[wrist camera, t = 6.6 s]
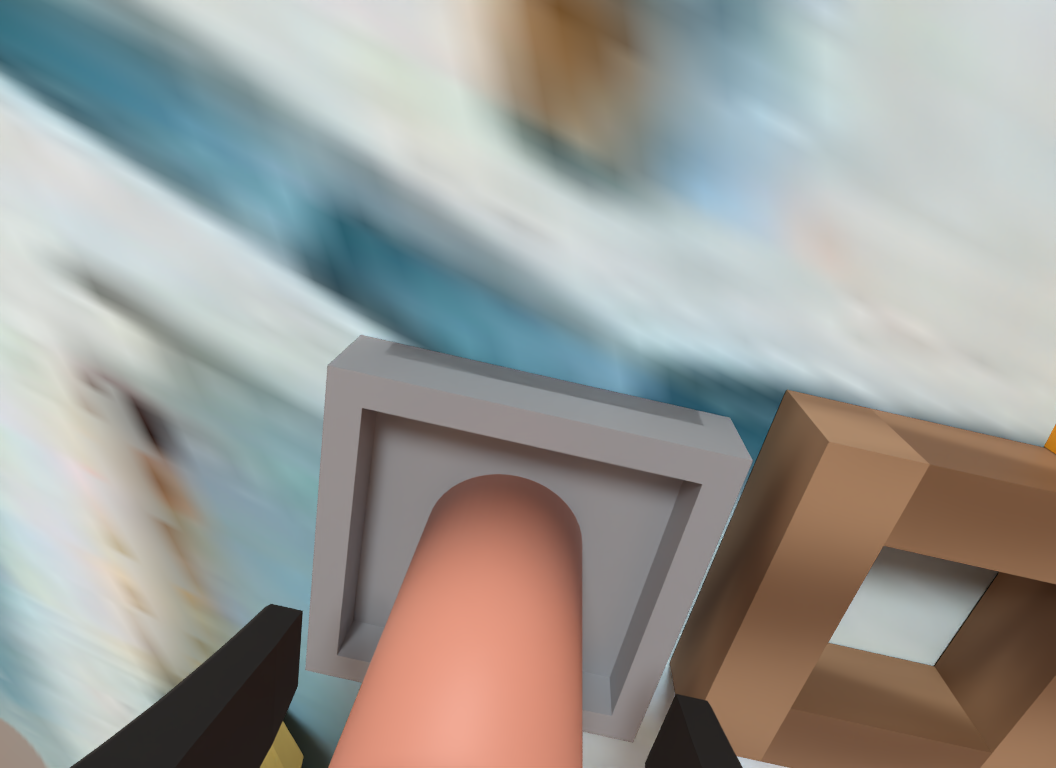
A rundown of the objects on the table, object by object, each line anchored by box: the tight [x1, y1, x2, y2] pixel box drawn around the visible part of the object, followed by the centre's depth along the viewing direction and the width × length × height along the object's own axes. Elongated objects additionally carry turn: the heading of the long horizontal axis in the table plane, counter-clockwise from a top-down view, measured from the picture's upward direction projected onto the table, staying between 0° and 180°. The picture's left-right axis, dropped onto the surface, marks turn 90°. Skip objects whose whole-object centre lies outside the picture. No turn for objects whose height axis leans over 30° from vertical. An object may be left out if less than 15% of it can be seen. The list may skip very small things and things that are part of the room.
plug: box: [328, 474, 582, 768], centre depth 12 cm, size 4×4×7 cm
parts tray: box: [305, 335, 753, 742], centre depth 15 cm, size 9×9×2 cm
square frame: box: [670, 390, 1056, 768], centre depth 14 cm, size 9×9×2 cm
